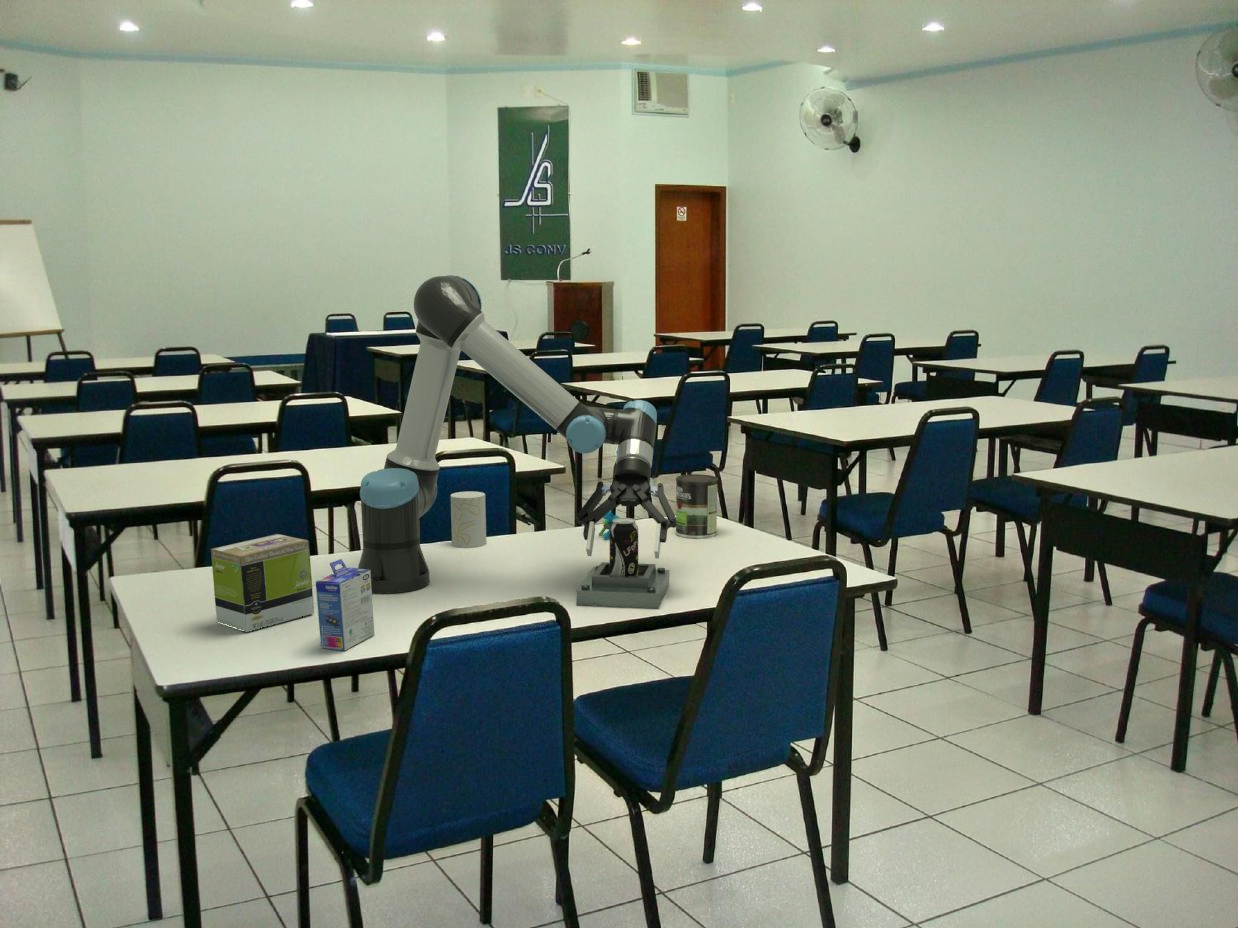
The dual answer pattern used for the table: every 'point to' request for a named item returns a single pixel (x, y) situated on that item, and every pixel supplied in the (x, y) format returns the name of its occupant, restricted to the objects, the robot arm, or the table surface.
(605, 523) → the blue lumpy piece
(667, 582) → the grey socket fixture
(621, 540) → the beverage can
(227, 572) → the tea box
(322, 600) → the ink cartridge box
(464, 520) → the cup
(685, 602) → the table surface
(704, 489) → the coffee can
